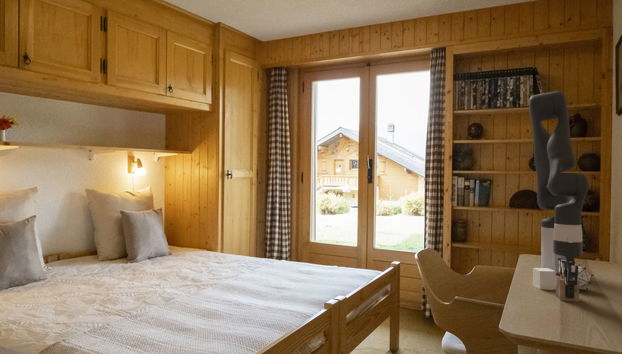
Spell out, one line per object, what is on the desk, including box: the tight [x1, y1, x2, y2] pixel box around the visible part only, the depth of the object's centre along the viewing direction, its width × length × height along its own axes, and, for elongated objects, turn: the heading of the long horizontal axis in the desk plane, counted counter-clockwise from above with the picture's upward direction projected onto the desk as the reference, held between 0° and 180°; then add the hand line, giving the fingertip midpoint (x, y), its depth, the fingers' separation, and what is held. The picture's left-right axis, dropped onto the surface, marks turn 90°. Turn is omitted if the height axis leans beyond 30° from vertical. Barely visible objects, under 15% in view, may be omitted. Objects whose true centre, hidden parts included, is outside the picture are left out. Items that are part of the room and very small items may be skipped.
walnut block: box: [555, 275, 580, 303], centre depth 130 cm, size 5×5×6 cm
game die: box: [577, 263, 595, 291], centre depth 142 cm, size 9×8×10 cm
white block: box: [532, 267, 557, 291], centre depth 144 cm, size 5×5×6 cm
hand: (567, 295), depth 130 cm, fingers closed on walnut block, 5 cm apart
